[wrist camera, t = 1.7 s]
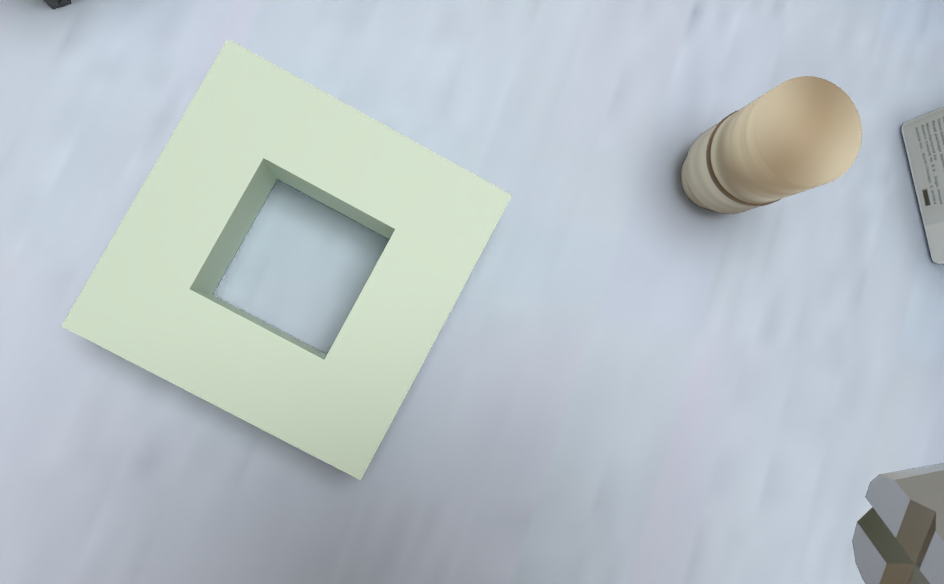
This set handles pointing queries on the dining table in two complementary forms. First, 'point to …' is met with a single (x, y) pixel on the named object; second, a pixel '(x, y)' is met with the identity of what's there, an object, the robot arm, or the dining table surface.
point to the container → (928, 174)
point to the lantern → (57, 3)
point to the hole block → (227, 223)
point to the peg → (774, 147)
